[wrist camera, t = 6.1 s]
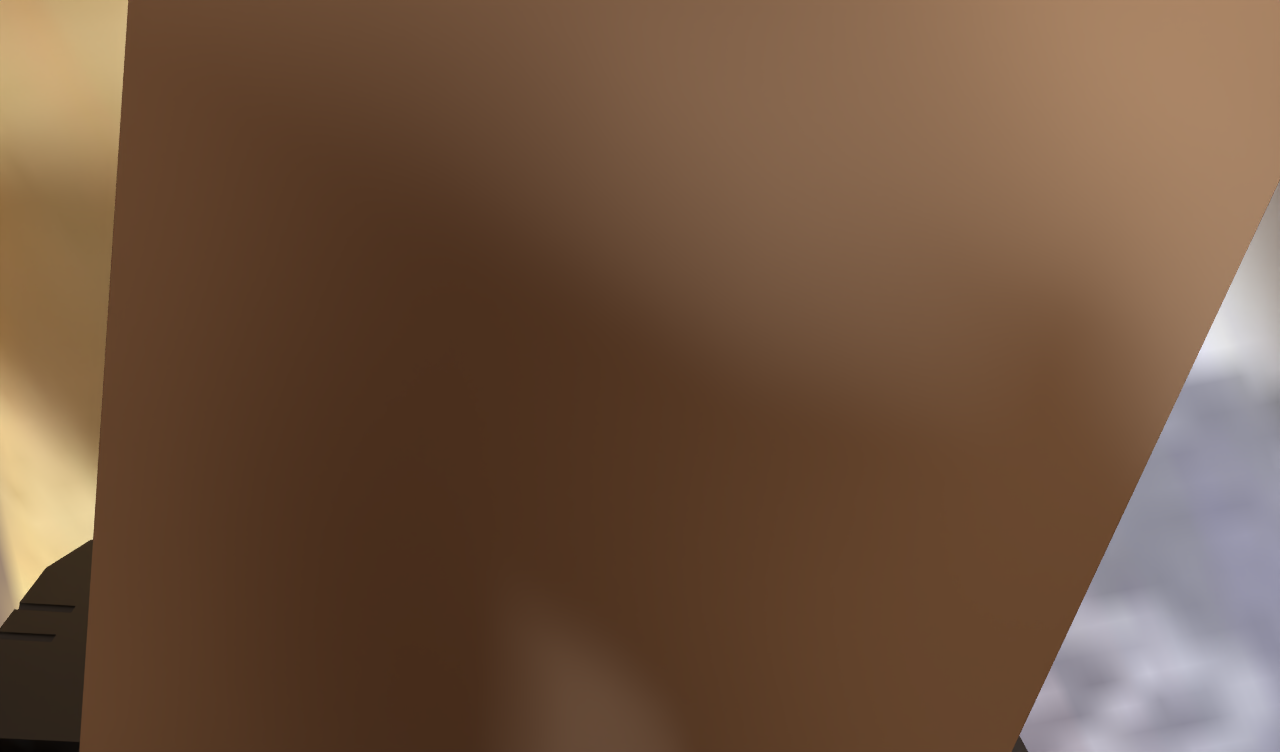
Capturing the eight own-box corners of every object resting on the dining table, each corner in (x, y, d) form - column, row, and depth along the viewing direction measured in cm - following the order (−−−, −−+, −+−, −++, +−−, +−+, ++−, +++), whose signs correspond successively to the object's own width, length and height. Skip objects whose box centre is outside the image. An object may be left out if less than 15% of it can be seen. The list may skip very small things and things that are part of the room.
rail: (1080, -379, 9) (1690, -698, 4) (572, 1136, 17) (577, 1677, 12) (421, -593, 9) (212, -1307, 3) (192, 1100, 16) (19, 1667, 11)
